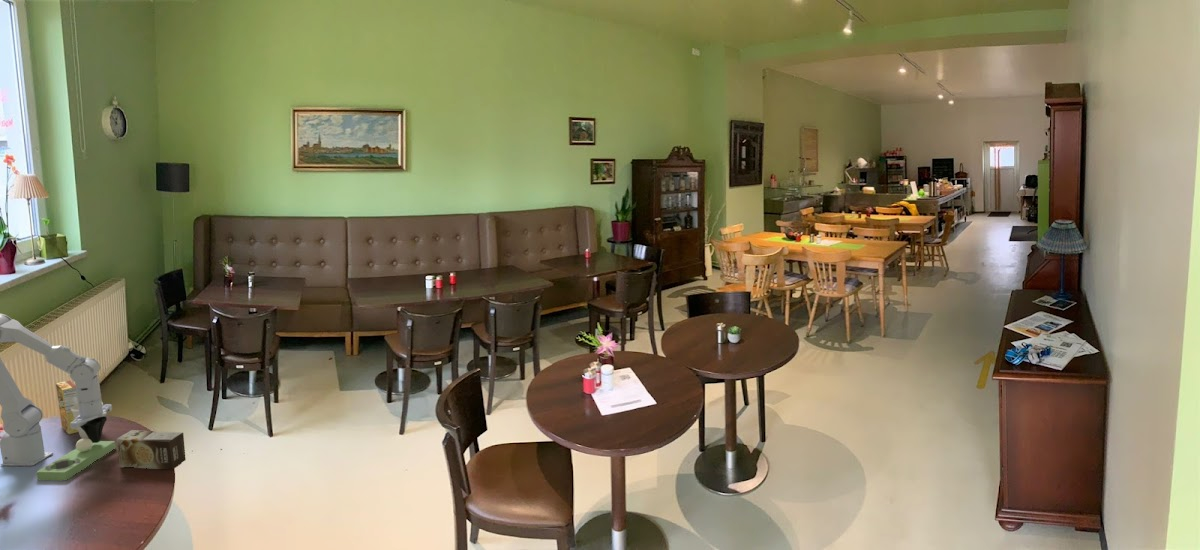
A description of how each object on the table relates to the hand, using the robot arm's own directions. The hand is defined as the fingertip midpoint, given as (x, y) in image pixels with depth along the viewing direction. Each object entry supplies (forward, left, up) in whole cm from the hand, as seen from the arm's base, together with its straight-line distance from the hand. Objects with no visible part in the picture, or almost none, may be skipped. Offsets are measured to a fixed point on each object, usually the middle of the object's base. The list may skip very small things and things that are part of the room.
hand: (95, 441), depth 208 cm
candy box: (-20, +17, -4) cm, 26 cm away
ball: (0, -4, +1) cm, 5 cm away
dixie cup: (-11, +13, -4) cm, 17 cm away
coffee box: (+14, -7, +1) cm, 15 cm away
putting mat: (0, -7, -3) cm, 8 cm away
